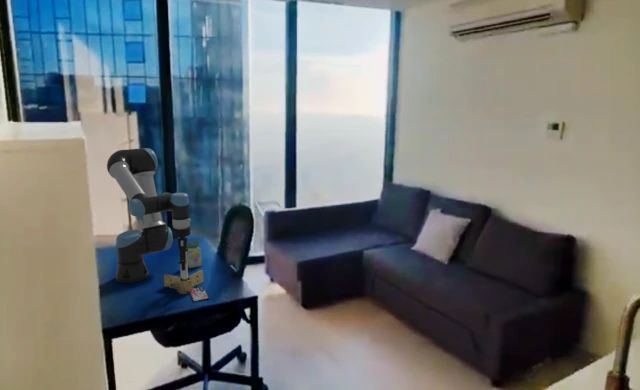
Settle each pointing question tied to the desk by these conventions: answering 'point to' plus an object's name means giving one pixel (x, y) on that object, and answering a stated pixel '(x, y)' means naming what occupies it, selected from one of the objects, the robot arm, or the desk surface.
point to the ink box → (193, 255)
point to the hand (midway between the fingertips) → (184, 270)
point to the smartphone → (199, 294)
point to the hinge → (183, 282)
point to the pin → (187, 274)
